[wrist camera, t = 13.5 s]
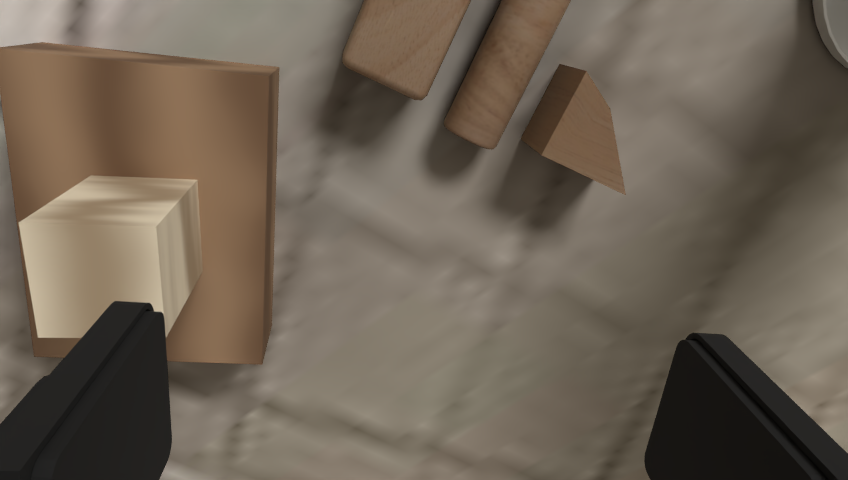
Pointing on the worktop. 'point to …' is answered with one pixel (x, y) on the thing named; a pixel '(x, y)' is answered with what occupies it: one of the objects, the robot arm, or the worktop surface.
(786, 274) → the worktop surface
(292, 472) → the worktop surface
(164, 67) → the walnut block
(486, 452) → the worktop surface
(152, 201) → the maple block
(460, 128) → the wooden block set
